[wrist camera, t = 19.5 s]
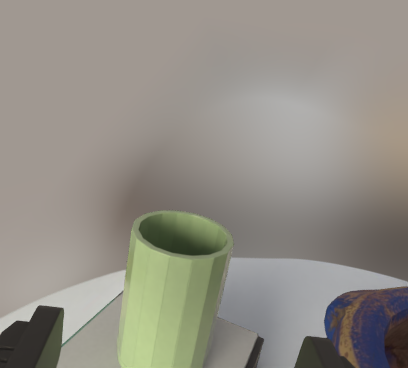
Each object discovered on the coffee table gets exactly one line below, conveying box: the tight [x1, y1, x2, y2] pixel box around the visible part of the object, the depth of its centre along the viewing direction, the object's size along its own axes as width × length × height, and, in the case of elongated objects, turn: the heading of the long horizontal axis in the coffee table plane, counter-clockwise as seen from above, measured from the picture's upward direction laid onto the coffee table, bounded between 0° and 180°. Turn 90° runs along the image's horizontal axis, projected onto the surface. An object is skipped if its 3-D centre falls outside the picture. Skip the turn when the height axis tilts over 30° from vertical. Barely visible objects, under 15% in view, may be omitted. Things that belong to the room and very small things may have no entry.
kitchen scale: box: [56, 290, 264, 368], centre depth 26 cm, size 12×12×3 cm
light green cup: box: [117, 210, 234, 368], centre depth 24 cm, size 6×6×9 cm
